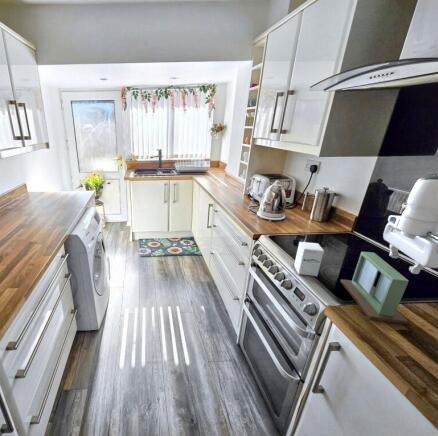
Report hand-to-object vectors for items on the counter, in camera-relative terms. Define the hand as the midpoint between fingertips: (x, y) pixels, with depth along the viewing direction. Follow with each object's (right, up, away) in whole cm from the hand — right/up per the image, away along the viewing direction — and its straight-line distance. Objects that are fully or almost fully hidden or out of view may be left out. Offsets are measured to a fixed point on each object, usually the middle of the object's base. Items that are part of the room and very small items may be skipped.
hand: (402, 264), depth 79 cm
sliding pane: (-2, -14, +3) cm, 14 cm away
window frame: (-3, -15, +8) cm, 17 cm away
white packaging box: (-14, -8, +27) cm, 32 cm away
